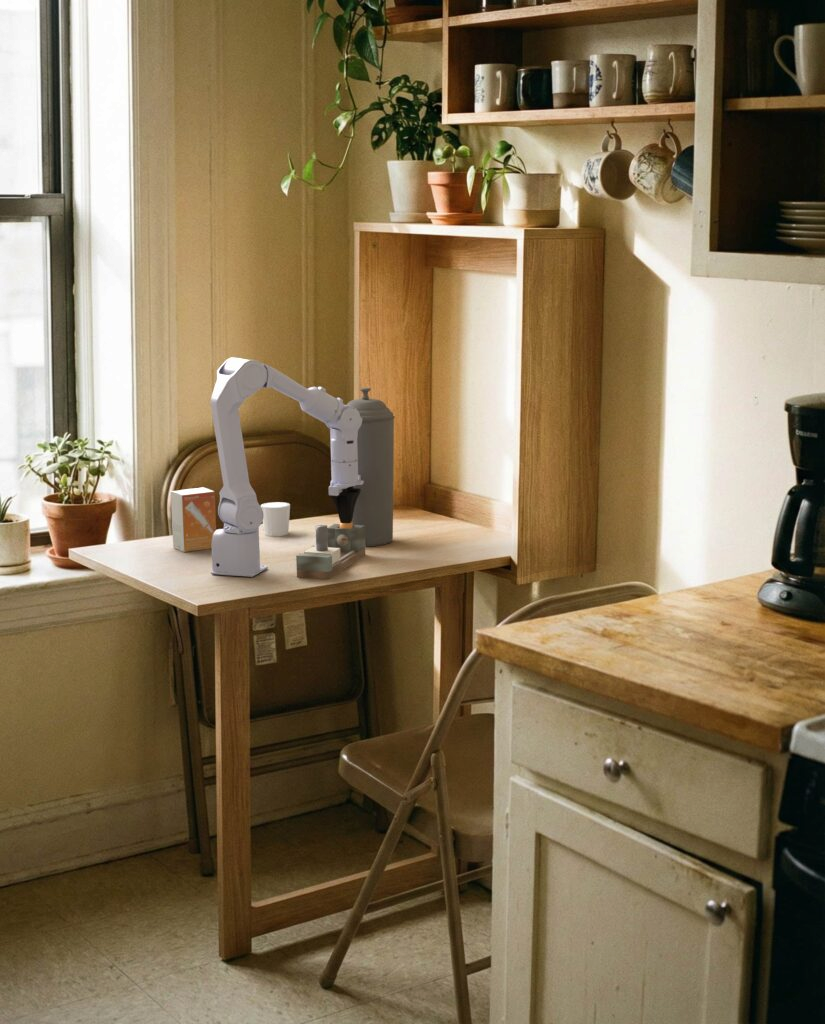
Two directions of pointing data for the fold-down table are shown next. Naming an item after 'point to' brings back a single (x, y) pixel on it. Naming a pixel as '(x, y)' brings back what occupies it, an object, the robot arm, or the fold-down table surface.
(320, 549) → the carriage
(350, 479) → the robot arm
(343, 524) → the button
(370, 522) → the canister
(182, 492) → the small box
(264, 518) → the white tapered cylinder
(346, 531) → the rail base
